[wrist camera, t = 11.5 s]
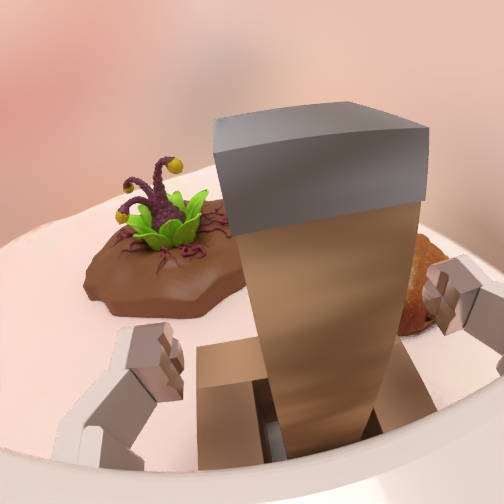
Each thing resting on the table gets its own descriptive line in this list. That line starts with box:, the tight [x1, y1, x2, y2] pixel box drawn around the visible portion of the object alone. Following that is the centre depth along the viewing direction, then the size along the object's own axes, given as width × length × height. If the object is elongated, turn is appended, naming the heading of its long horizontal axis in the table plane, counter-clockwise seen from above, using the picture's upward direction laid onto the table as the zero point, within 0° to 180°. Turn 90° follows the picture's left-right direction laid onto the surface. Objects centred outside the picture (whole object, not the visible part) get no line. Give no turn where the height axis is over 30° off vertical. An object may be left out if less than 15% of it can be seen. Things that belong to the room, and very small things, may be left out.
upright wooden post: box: [213, 102, 429, 460], centre depth 9 cm, size 3×3×16 cm
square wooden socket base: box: [196, 335, 437, 471], centre depth 12 cm, size 10×10×5 cm
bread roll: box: [397, 233, 449, 336], centre depth 22 cm, size 10×10×8 cm
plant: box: [83, 157, 246, 319], centre depth 30 cm, size 20×20×11 cm
